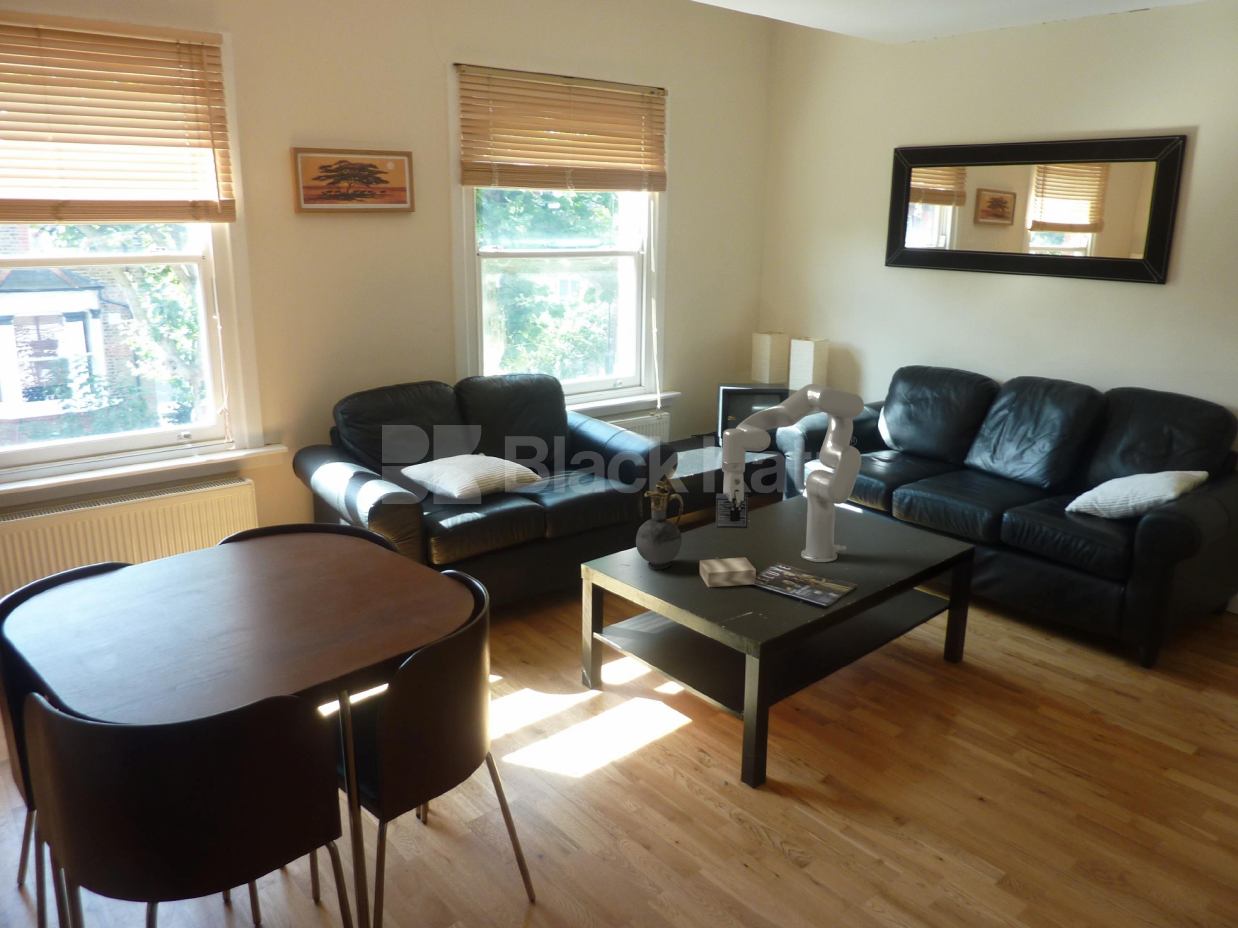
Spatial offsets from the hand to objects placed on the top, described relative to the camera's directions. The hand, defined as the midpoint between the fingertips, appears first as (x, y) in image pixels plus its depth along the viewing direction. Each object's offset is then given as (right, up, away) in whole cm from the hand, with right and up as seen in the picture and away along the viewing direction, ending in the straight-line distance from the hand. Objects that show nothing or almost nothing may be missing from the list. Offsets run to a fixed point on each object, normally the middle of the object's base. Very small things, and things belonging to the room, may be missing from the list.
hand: (731, 517), depth 315 cm
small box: (0, -3, +1) cm, 3 cm away
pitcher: (-23, -18, +14) cm, 32 cm away
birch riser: (-1, -21, +1) cm, 21 cm away
